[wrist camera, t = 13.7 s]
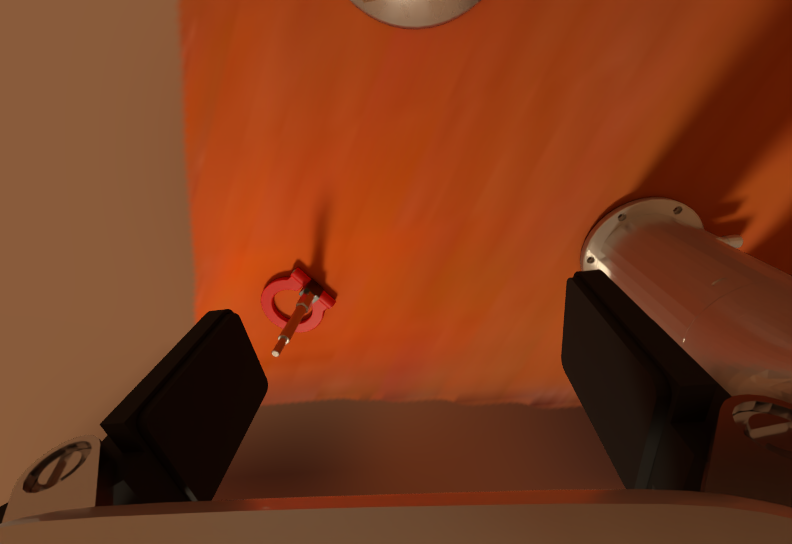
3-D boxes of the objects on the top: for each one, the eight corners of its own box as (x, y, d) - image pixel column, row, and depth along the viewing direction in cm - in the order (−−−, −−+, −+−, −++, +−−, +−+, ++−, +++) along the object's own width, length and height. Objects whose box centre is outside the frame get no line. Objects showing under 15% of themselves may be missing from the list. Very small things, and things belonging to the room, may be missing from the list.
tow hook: (299, 336, 50) (342, 303, 46) (259, 412, 38) (312, 375, 35) (252, 298, 47) (294, 259, 43) (195, 367, 36) (245, 322, 32)
